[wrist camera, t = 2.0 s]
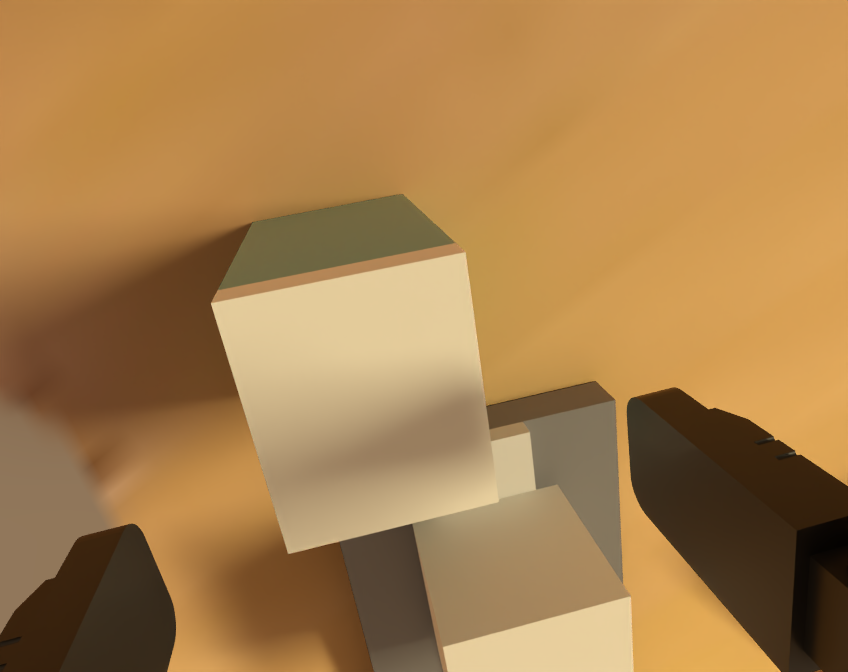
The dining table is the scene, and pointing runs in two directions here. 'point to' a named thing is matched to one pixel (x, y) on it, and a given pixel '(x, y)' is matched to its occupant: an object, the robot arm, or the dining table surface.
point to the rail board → (555, 463)
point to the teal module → (358, 369)
